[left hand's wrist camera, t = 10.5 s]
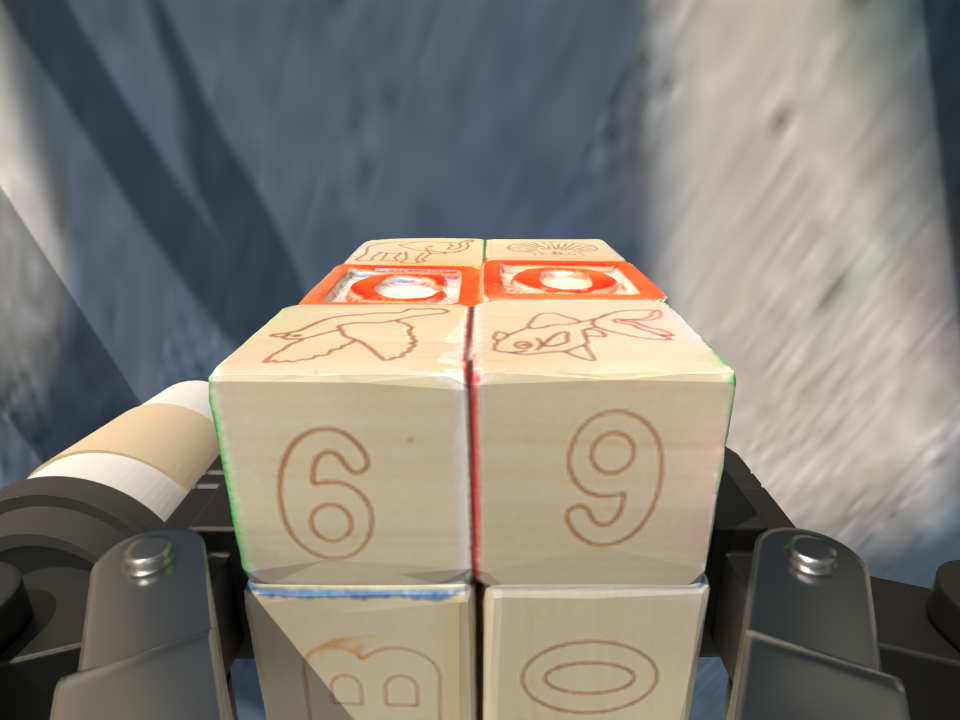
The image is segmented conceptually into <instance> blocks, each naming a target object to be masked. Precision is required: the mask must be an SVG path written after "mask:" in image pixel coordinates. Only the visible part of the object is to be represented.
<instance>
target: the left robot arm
mask: <svg viewBox="0 0 960 720" xmlns="http://www.w3.org/2000/svg"><path fill="white" fill-rule="evenodd" d="M705 575H706V577H707V579H708V582H709V586H710V593H709V599H708V605H707V611H706V617H705V623H704V629H703V635H702V641H701V647H700V653H699V657H721V659H722V662H723V664H724V666H725V668H726V670H727V673H728V675H729V678H728V683H727V688H726V694H725V701H724V707H723V714H722V720H960V560H954V561H949V562H946V563H944V564H942V565H941V566H940V567H939V568H938V570H937V572H936V575H935V578H934V581H933V584H932V587H931V589H928V588H923V587H919V586H914V585H909V584H904V583H899V582H894V581H890V580H885V579H880V578H876V577H872V576H870V575H869V571H868V568H867V567H866V565H865V563H864V562H863V561H862V559H861V558H860V557H859V556H858V555H857V554H856V553H854V552H853V551H852V550H851V549H849V548H848V547H846V546H845V545H843V544H842V543H840V542H838V541H836V540H834V539H832V538H830V537H828V536H825V535H822V534H820V533H816V532H813V531H809V530H805V529H799V528H796V527H795V526H794V525H793V524H792V522H791V521H790V520H789V518H788V517H787V516H786V515H785V513H784V512H783V511H782V510H781V508H780V507H779V506H778V505H777V503H776V502H775V501H774V500H773V498H772V497H771V496H770V494H769V493H768V492H767V491H766V489H765V488H762V487H761V483H760V482H759V481H758V479H757V478H756V477H755V476H754V474H751V473H750V469H749V468H748V467H747V465H746V464H745V463H744V462H743V460H742V459H741V458H740V457H739V455H738V454H736V453H735V452H733V451H732V450H730V449H729V448H727V447H725V455H724V467H723V472H722V476H721V481H720V486H719V492H718V497H717V503H716V510H715V518H714V525H713V531H712V537H711V543H710V549H709V554H708V559H707V563H706V568H705ZM248 580H249V578H248V576H247V575H246V573H245V571H244V570H243V568H242V563H241V556H240V551H239V548H238V544H237V540H236V535H235V531H234V526H233V521H232V515H231V508H230V502H229V496H228V491H227V486H226V481H225V476H224V471H223V466H222V461H221V456H220V455H218V457H217V458H216V459H215V460H214V462H213V463H212V464H211V465H210V467H209V468H208V469H207V470H206V474H205V475H202V476H201V478H200V479H199V480H198V481H197V483H196V484H195V488H194V489H191V490H190V491H189V493H188V494H187V495H186V496H185V498H184V499H183V500H182V501H181V503H180V504H179V505H178V506H177V508H176V509H175V510H174V511H173V513H172V514H171V515H170V516H169V518H168V519H167V520H166V521H165V523H164V524H163V525H162V526H161V528H160V529H155V530H151V531H147V532H144V533H140V534H138V535H135V536H133V537H130V538H128V539H126V540H124V541H122V542H120V543H119V544H117V545H115V546H114V547H112V548H111V549H109V550H108V551H107V552H106V553H104V554H103V555H102V556H101V557H100V558H99V559H98V561H97V562H96V563H95V565H94V567H93V568H92V571H91V575H90V576H89V577H85V578H81V579H77V580H72V581H67V582H62V583H57V584H53V585H48V586H43V587H38V588H33V589H28V590H26V587H25V584H24V581H23V578H22V575H21V572H20V571H19V569H18V568H17V567H15V566H14V565H12V564H9V563H4V562H0V720H238V714H237V707H236V700H235V694H234V688H233V683H232V678H231V673H230V668H231V666H232V664H233V662H234V659H235V658H255V657H254V651H253V645H252V639H251V633H250V628H249V624H248V619H247V615H246V610H245V598H244V591H245V588H246V585H247V583H248Z"/></svg>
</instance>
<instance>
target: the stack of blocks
mask: <svg viewBox="0 0 960 720" xmlns="http://www.w3.org/2000/svg"><path fill="white" fill-rule="evenodd" d="M667 303H668V298H667V297H666V295H665V294H664V293H663V292H662V291H661V290H660V289H659V288H658V287H656V286H655V285H654V284H653V283H652V282H651V281H650V280H649V279H648V278H647V277H646V276H645V275H643V274H642V273H641V272H640V271H639V270H638V269H636V268H635V267H634V266H633V265H632V264H630V263H628V262H626V260H625V259H624V258H623V257H621V256H620V255H619V254H618V253H616V252H615V250H613V249H612V248H611V247H609V246H608V245H607V244H606V243H605V242H604V241H602V240H599V239H582V240H528V239H493V240H482V239H457V238H414V239H386V240H371V241H368V242H365V243H364V244H363V245H361V246H360V247H359V248H358V249H357V250H356V251H355V252H354V253H353V254H352V255H351V256H350V257H349V259H347V260H346V262H345V263H344V264H341V265H339V266H337V267H335V268H334V269H333V270H332V271H331V272H330V273H329V274H328V275H327V276H326V277H325V278H324V279H323V280H322V281H321V282H320V283H319V284H318V285H316V286H315V287H314V288H313V289H312V290H311V291H310V292H309V293H308V294H307V295H306V296H305V297H304V299H303V300H302V301H301V302H300V303H299V305H296V306H290V307H287V308H284V309H282V310H281V311H280V312H279V313H278V314H277V315H276V316H275V317H274V318H272V319H271V320H270V321H269V322H268V323H267V324H266V325H265V326H263V327H262V328H261V329H260V330H259V331H257V332H256V333H255V334H254V335H253V336H251V337H250V338H249V339H248V340H247V341H246V342H245V343H244V344H243V345H242V346H241V347H239V348H238V349H237V350H236V351H235V352H234V353H233V354H231V355H230V356H229V357H228V358H227V359H226V360H224V361H223V362H222V363H221V364H220V365H219V366H217V368H216V369H215V370H214V371H213V373H212V374H211V375H210V377H209V404H210V408H211V412H212V416H213V420H214V424H215V430H216V435H217V440H218V446H219V451H220V456H221V461H222V466H223V471H224V476H225V481H226V486H227V491H228V496H229V502H230V508H231V515H232V521H233V526H234V531H235V535H236V540H237V544H238V548H239V551H240V556H241V563H242V568H243V570H244V571H245V573H246V575H247V576H248V578H249V580H248V583H247V585H246V588H245V591H244V598H245V610H246V615H247V619H248V624H249V628H250V633H251V639H252V645H253V651H254V657H255V663H256V668H257V673H258V678H259V683H260V688H261V693H262V698H263V702H264V707H265V712H266V719H267V720H688V719H689V713H690V707H691V701H692V695H693V689H694V683H695V677H696V671H697V665H698V659H699V653H700V647H701V641H702V635H703V629H704V623H705V617H706V611H707V605H708V599H709V593H710V586H709V582H708V579H707V577H706V575H705V568H706V563H707V559H708V554H709V549H710V543H711V537H712V531H713V525H714V518H715V510H716V503H717V497H718V492H719V486H720V481H721V476H722V472H723V467H724V455H725V445H726V441H727V437H728V432H729V426H730V420H731V413H732V407H733V401H734V395H735V387H736V378H735V372H734V371H733V370H732V369H731V368H730V367H729V366H728V365H727V364H726V363H725V362H724V361H723V360H722V359H721V358H720V357H719V355H718V354H717V353H716V352H715V351H714V350H713V349H712V348H711V347H710V346H709V345H708V344H707V343H706V342H705V341H704V340H703V339H702V338H701V337H700V336H699V335H698V334H697V333H696V332H695V331H694V330H693V329H691V328H690V327H689V326H688V325H687V324H686V323H685V321H684V320H683V319H682V318H681V317H680V316H679V315H678V314H677V313H676V312H675V311H674V310H672V309H670V307H669V306H668V305H667Z"/></svg>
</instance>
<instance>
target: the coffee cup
mask: <svg viewBox="0 0 960 720" xmlns="http://www.w3.org/2000/svg"><path fill="white" fill-rule="evenodd" d="M218 455H220V451H219V446H218V440H217V435H216V430H215V424H214V420H213V416H212V412H211V408H210V404H209V382H205V381H186V382H181V383H178V384H175V385H173V386H171V387H169V388H167V389H166V390H164V391H163V392H161V393H159V394H158V395H156V396H155V397H153V398H152V399H150V400H149V401H147V402H146V403H144V404H142V405H141V406H138V407H135V408H133V409H131V410H129V411H127V412H125V413H123V414H122V415H120V416H119V417H117V418H115V419H114V420H112V421H111V422H109V423H108V424H106V425H104V426H103V427H101V428H100V429H98V430H96V431H95V432H93V433H92V434H90V435H88V436H87V437H85V438H84V439H82V440H81V441H79V442H77V443H76V444H74V445H73V446H71V447H69V448H68V449H66V450H65V451H63V452H62V453H60V454H58V455H57V456H55V457H54V458H52V459H50V460H49V461H47V462H46V463H44V464H43V465H41V466H40V467H38V468H37V469H36V470H35V471H34V472H33V473H32V474H31V475H30V476H29V477H28V478H27V479H25V480H22V481H18V482H15V483H13V484H10V485H8V486H6V487H4V488H2V489H0V562H4V563H9V564H12V565H14V566H15V567H17V568H18V569H19V571H20V572H21V575H22V578H23V581H24V584H25V587H26V590H28V589H33V588H38V587H43V586H48V585H53V584H57V583H62V582H67V581H72V580H77V579H81V578H85V577H89V576H90V575H91V571H92V568H93V567H94V565H95V563H96V562H97V561H98V559H99V558H100V557H101V556H102V555H103V554H104V553H106V552H107V551H108V550H109V549H111V548H112V547H114V546H115V545H117V544H119V543H120V542H122V541H124V540H126V539H128V538H130V537H133V536H135V535H138V534H140V533H144V532H147V531H151V530H155V529H160V528H161V526H162V525H163V524H164V523H165V521H166V520H167V519H168V518H169V516H170V515H171V514H172V513H173V511H174V510H175V509H176V508H177V506H178V505H179V504H180V503H181V501H182V500H183V499H184V498H185V496H186V495H187V494H188V493H189V491H190V490H191V489H194V488H195V484H196V483H197V481H198V480H199V479H200V478H201V476H202V475H205V474H206V470H207V469H208V468H209V467H210V465H211V464H212V463H213V462H214V460H215V459H216V458H217V457H218Z"/></svg>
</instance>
